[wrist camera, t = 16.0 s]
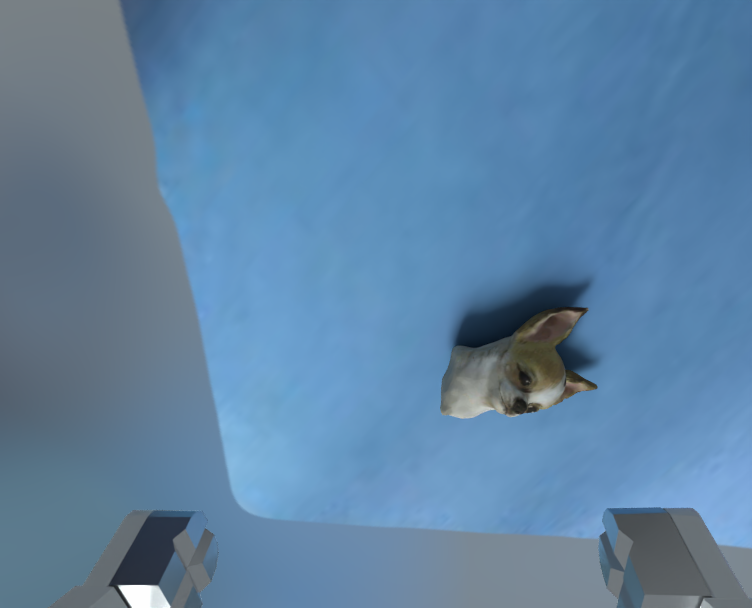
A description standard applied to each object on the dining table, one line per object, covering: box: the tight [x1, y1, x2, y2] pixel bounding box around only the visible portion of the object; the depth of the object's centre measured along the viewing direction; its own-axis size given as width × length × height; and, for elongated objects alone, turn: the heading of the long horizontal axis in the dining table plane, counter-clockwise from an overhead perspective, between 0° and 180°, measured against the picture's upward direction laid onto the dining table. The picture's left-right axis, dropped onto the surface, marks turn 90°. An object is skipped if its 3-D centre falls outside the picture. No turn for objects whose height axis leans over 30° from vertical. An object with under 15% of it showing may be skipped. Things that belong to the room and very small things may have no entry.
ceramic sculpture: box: [440, 307, 597, 419], centre depth 45 cm, size 11×9×15 cm
